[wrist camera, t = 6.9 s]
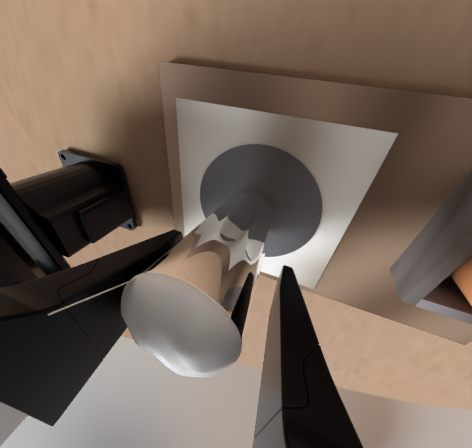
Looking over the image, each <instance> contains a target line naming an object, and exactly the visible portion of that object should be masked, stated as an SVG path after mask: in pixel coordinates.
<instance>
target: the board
mask: <svg viewBox="0 0 472 448" xmlns="http://www.w3.org/2000/svg"><path fill="white" fill-rule="evenodd" d="M158 68H159V78H160V88H161V98H162V108H163V118H164V128H165V138H166V148H167V158H168V168H169V178H170V188H171V198H172V208H173V218H174V228H175V230H178V231H181V232H182V233H183V238H184V237H185V236H186V235H187V234H188V233H190V232H191V231H192V230H193V229H194V228H196V227H197V226H198V225H199V224H200V223H201V222H203V221H204V220H205V219H206V218H207V217H208V216H210V215H211V214H212V213H213V212H214V211H215V210H217V209H218V208H219V207H220V206H221V205H222V204H224V203H225V202H226V201H227V200H228V199H229V198H231V197H232V196H233V195H234V194H235V193H239V192H245V191H250V190H251V191H253V192H255V193H258V194H260V195H262V196H264V197H266V198H267V200H268V201H269V203H270V204H271V206H272V208H273V209H274V211H275V212H274V222H273V228H272V231H271V235H270V238H269V242H268V245H267V249H266V253H265V256H264V260H263V263H262V267H261V270H260V275H263V276H266V277H269V278H271V279H274V280H277V281H278V279H279V276H280V273H281V270H282V267H283V266H284V265H286V266H289V267H292V268H293V270H294V273H295V276H296V279H297V282H298V284H299V287H300V289H303V290H306V291H309V292H312V293H315V294H318V295H321V296H324V297H327V298H329V299H332V300H335V301H338V302H341V303H344V304H347V305H350V306H353V307H356V308H358V309H361V310H364V311H367V312H370V313H373V314H376V315H379V316H382V317H385V318H387V319H390V320H393V321H396V322H399V323H402V324H405V325H408V326H411V327H414V328H416V329H419V330H422V331H425V332H428V333H431V334H434V335H437V336H440V337H443V338H445V339H448V340H451V341H454V342H457V343H460V344H463V345H465V344H467V343H469V342H471V341H472V306H471V305H470V303H469V302H468V300H467V299H466V297H465V296H464V294H463V293H462V291H461V290H460V289H459V287H458V286H457V284H456V283H455V281H454V280H453V278H452V277H451V275H450V274H451V273H452V272H453V271H455V270H456V269H457V268H458V267H459V266H460V265H461V264H462V263H464V262H465V261H466V260H467V259H468V258H469V257H470V256H471V255H472V99H471V98H463V97H455V96H446V95H438V94H429V93H421V92H413V91H404V90H396V89H388V88H379V87H371V86H362V85H354V84H346V83H337V82H329V81H321V80H312V79H304V78H295V77H287V76H279V75H270V74H262V73H254V72H245V71H237V70H228V69H220V68H212V67H203V66H195V65H187V64H178V63H170V62H161V61H158Z"/></svg>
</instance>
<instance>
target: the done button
mask: <svg viewBox="0 0 472 448" xmlns="http://www.w3.org/2000/svg"><path fill="white" fill-rule="evenodd" d="M450 275H451V277H452V278H453V280H454V281H455V283H456V284H457V286H458V287H459V289H460V290H461V291H462V293H463V294H464V296H465V297H466V299H467V300H468V302H469V303H470V305H471V306H472V255H471V256H470V257H469V258H468V259H467V260H466V261H465V262H464V263H462V264H461V265H460V266H459V267H458V268H457V269H456V270H455V271H453V272H452V273H451V274H450Z"/></svg>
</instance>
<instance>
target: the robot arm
mask: <svg viewBox="0 0 472 448" xmlns="http://www.w3.org/2000/svg"><path fill="white" fill-rule="evenodd" d="M58 154H59V157H60V160H61V162H62V164H63V167H62V168H59V169H56V170H52V171H49V172H46V173H42V174H39V175H36V176H33V177H29V178H26V179H23V180H19V181H16V182H13V183H9V182H8V180H7V179H6V178H7V176H6V174H5V173H4V172H3V170H2V169H1V168H0V446H1V445H2V444H3V442H4V441H5V440H6V439H7V438H8V437H9V436H10V435H11V434H12V432H13V431H14V430H15V429H16V428H17V427H18V426H19V425H20V423H21V422H22V421H23V420H24V419H25V418H26V417H27V416H28V415H29V416H31V417H33V418H35V419H38V420H40V421H42V422H44V423H46V424H48V425H50V426H53V425H54V424H55V423H56V422H57V421H58V419H59V418H60V417H61V415H62V414H63V413H64V411H65V410H66V409H67V407H68V406H69V405H70V403H71V402H72V401H73V399H74V398H75V397H76V395H77V394H78V392H79V391H80V390H81V389H82V387H83V386H84V385H85V383H86V382H87V381H88V379H89V378H90V377H91V375H92V374H93V373H94V371H95V370H96V369H97V367H98V366H99V365H100V363H101V362H102V361H103V358H105V356H106V355H107V354H108V352H109V351H110V350H111V348H112V347H113V346H114V344H115V343H116V341H117V340H118V339H119V338H120V336H121V335H122V334H123V332H124V331H125V330H126V328H127V325H126V323H125V321H124V319H123V317H122V315H121V298H122V293H123V290H124V288H125V286H126V284H125V285H122V286H120V287H117V288H115V289H112V290H110V291H108V292H105V293H103V294H100V295H98V296H96V297H93V298H91V299H88V300H86V301H83V302H81V303H79V304H76V305H74V306H71V307H69V308H67V309H64V310H62V311H59V312H57V313H54V314H52V315H50V316H47V317H45V316H44V315H46V314H48V313H51V312H53V311H56V310H58V309H61V308H63V307H65V306H68V305H70V304H73V303H75V302H78V301H80V300H83V299H85V298H87V297H90V296H92V295H95V294H97V293H100V292H102V291H105V290H107V289H110V288H112V287H114V286H117V285H119V284H122V283H124V282H127V281H129V280H131V279H132V278H133V277H135V276H136V275H137V274H138V273H139V272H141V271H142V270H143V269H144V268H146V267H147V266H148V265H149V264H151V263H152V262H153V261H155V260H156V259H157V258H158V257H160V256H161V255H162V254H163V253H165V252H166V251H167V250H168V249H170V248H171V247H172V246H173V245H175V244H176V243H177V242H178V241H180V240H181V239H182V238H183V233H182V232H181V231H178V230H171V231H169V232H166V233H164V234H161V235H158V236H156V237H153V238H150V239H148V240H145V241H142V242H140V243H137V244H135V245H132V246H129V247H127V248H124V249H121V250H119V251H116V252H113V253H111V254H108V255H105V256H103V257H100V258H97V259H95V260H92V261H90V262H87V263H84V264H81V265H78V266H76V267H73V268H71V267H70V265H69V264H68V263H67V261H66V260H65V259H64V257H63V255H64V256H66V257H70V256H72V255H73V254H75V253H76V252H78V251H79V250H81V249H82V248H84V247H85V246H87V245H88V244H90V243H95V242H97V241H98V240H100V239H101V238H103V237H104V236H106V235H107V234H109V233H110V232H112V231H113V230H114V229H116V228H117V227H119V226H120V227H123V228H126V229H129V230H134V229H135V228H137V224H136V219H135V215H134V211H133V207H132V203H131V198H130V194H129V190H128V186H127V181H126V177H125V173H124V170H123V168H122V166H121V165H119V164H117V163H113V162H110V161H106V160H102V159H98V158H94V157H91V156H87V155H83V154H79V153H75V152H71V151H68V150H62V151H59V152H58ZM253 448H363V446H362V444H361V442H360V439H359V437H358V435H357V433H356V431H355V428H354V426H353V424H352V422H351V420H350V418H349V415H348V413H347V411H346V409H345V406H344V404H343V402H342V400H341V398H340V396H339V393H338V391H337V388H336V386H335V384H334V381H333V379H332V377H331V375H330V372H329V369H328V367H327V364H326V361H325V359H324V356H323V353H322V350H321V347H320V346H319V342H318V339H317V336H316V333H315V330H314V327H313V325H312V322H311V319H310V316H309V313H308V310H307V307H306V304H305V302H304V299H303V296H302V293H301V290H300V287H299V284H298V282H297V279H296V276H295V273H294V270H293V268H292V267H289V266H286V265H284V266H283V267H282V270H281V273H280V276H279V279H278V282H277V286H276V290H275V294H274V298H273V302H272V305H271V310H270V315H269V323H268V331H267V338H266V346H265V354H264V362H263V370H262V378H261V387H260V394H259V402H258V411H257V418H256V425H255V433H254V441H253Z"/></svg>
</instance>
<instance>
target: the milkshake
mask: <svg viewBox="0 0 472 448" xmlns="http://www.w3.org/2000/svg"><path fill="white" fill-rule="evenodd" d="M274 212H275V211H274V209H273V208H272V206H271V204H270V203H269V201H268V200H267V198H266V197H264V196H262V195H260V194H258V193H255V192H253V191H251V190H250V191H245V192H239V193H235V194H234V195H233V196H232V197H231V198H229V199H228V200H227V201H226V202H225V203H224V204H222V205H221V206H220V207H219V208H218V209H217V210H215V211H214V212H213V213H212V214H211V215H210V216H208V217H207V218H206V219H205V220H204V221H203V222H201V223H200V224H199V225H198V226H197V227H196V228H194V229H193V230H192V231H191V232H190V233H188V234H187V235H186V236H185V237H184V238H182V239H181V240H180V241H178V242H177V243H176V244H175V245H173V246H172V247H171V248H170V249H168V250H167V251H166V252H165V253H163V254H162V255H161V256H160V257H158V258H157V259H156V260H155V261H153V262H152V263H151V264H149V265H148V266H147V267H146V268H144V269H143V270H142V271H141V272H139V273H138V274H137V275H136V276H135V277H133V278H132V279H131V280H129V281H127V282H124V283H122V284H119V285H117V286H114V287H112V288H110V289H107V290H105V291H102V292H100V293H97V294H95V295H92V296H90V297H87V298H85V299H83V300H80V301H78V302H75V303H73V304H70V305H68V306H65V307H63V308H61V309H58V310H56V311H53V312H51V313H48V314H46V315H44V316H45V317H47V316H50V315H52V314H54V313H57V312H59V311H62V310H64V309H67V308H69V307H71V306H74V305H76V304H79V303H81V302H83V301H86V300H88V299H91V298H93V297H96V296H98V295H100V294H103V293H105V292H108V291H110V290H112V289H115V288H117V287H120V286H122V285H125V284H126V286H125V288H124V290H123V293H122V298H121V315H122V317H123V319H124V321H125V323H126V325H127V327H128V329H129V331H130V333H131V335H132V337H133V339H134V341H135V343H136V344H137V345H138V346H139V347H140V348H142V349H144V350H146V351H148V352H150V353H151V354H153V355H154V356H155V357H156V358H158V359H159V360H160V361H161V362H162V363H163V364H164V365H165V366H167V367H168V368H169V369H171V370H172V371H174V372H175V373H177V374H179V375H182V376H191V377H210V376H213V375H215V374H217V373H219V372H221V371H223V370H224V369H226V368H227V367H229V366H230V365H232V364H233V363H234V362H235V361H236V360H237V359H238V357H239V356H240V353H241V349H242V344H243V340H244V336H245V332H246V328H247V324H248V319H249V315H250V311H251V307H252V303H253V299H254V294H255V290H256V285H257V281H258V277H259V274H260V270H261V267H262V263H263V260H264V256H265V253H266V249H267V245H268V242H269V238H270V235H271V231H272V228H273V222H274Z"/></svg>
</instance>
